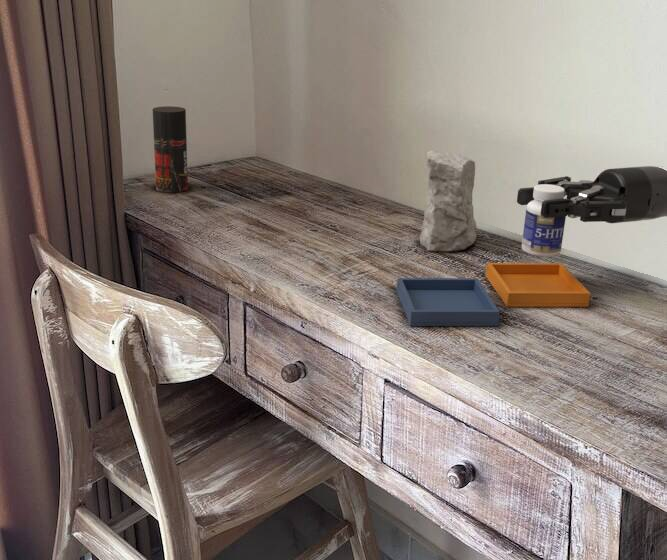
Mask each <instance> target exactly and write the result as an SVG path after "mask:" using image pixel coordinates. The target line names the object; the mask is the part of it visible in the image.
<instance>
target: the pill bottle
mask: <svg viewBox="0 0 667 560" xmlns="http://www.w3.org/2000/svg"><path fill="white" fill-rule="evenodd" d="M533 187H534V191H533V198H534V200H533V201H531V202H529V203H528V205H526V209H525V215H524V222H523V223H524V225H523V232H522V239H521V249H522V250H523V251H524V252H525V253H527V254H529V255H533V256H538V257H555V256H557V255H559V254H560V253H561V251H562V245H563V239H564V232H565V224H566V220H567V219H566V218H567V216H562V217H551V218H545V217H543V216H541V207H542V202H543V201H545V200H554V199H563V198H564V199H565V197H564V191H565V190H564V188H562V187H560V186H556V185H549V184H540V185H538V184H536V185H534V186H533Z"/></svg>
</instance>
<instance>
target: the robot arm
mask: <svg viewBox="0 0 667 560" xmlns="http://www.w3.org/2000/svg"><path fill="white" fill-rule="evenodd" d="M659 167H660V166H653V165H644V166H630V167H629V166H628V167H618V168H617V167H616V168H607V169H605V170H603V171H601V172H600V173H599V174H598V175H597V177H596V178H595V179H594V180H593V181H592V180H590V179H589V180H586V179H584V180H583V179H580V180H579V181H572V177H570V176H569V175H568V176H567V175H565V176H560V177H554V178H548V179H542V180H538V181H537V185H540V184H549V185H556V186H560V187H562V188H564V190H565V191H564V198H563V199H554V200H545V201H543V202H542V207H541V216H543V217H545V218H551V217H562V216H566V217H568V218H570V219H577V218H579V221H581V222H583V223H593V222H594V223H595V222H596V223H597V222H605V223H607V224H620V223H631V222H641V221H650V220H655V219H660V218H665V217H667V171H666V170H664V169H662V168H659ZM534 187H535V186H533V187H521V188H519V189H518V190H517V195H516V196H517V197H516V203H517V204H519V205H520V206H527V205H528V203H529V202H531V201H533V200H534V198H533V191H534ZM565 197H566V198H565Z"/></svg>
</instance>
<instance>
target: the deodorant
mask: <svg viewBox="0 0 667 560" xmlns="http://www.w3.org/2000/svg"><path fill="white" fill-rule="evenodd" d="M152 127H153V129H152V130H153V148H154V149H153V150H154V152H153V153H154V170H155V171H154V172H155V173H154V174H155V189H156V190H157V191H158V192H161V193H167V194H168V193H170V194H175V193H182V192H185V191H187V190H188V189H189V181H188V179H189V178H188V145H187V141H188V139H187V109H186V108H185V107H181V106H174V105H173V106H172V105H171V106H168V105H167V106H166V105H165V106H157V107H153V108H152Z"/></svg>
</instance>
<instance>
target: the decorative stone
mask: <svg viewBox="0 0 667 560" xmlns="http://www.w3.org/2000/svg"><path fill="white" fill-rule="evenodd" d="M426 167H427V169H428V186H427V187H428V188H427V196H426V200H425V205H424V211H423V215H424V217H423V221H422V227H421V232H420V235H419V242H420V245H421V246H422V247H424V248H425V249H426V251H427V252H433V253H434V252H440V253H441V252H447V253H448V252H460V251H465V250H466V249H467V248H469V247H471V246H472V245H473V244H474V243H475V242H476V239H477V232H476V229H477V222H476V219H475V217H474V205H473V191H474V186H475V175H476V161H474V160H472V158H470V157H467V156H463V155H461V154H454V153H446V152H438V151H434V150H433V149H430V150H429V151H427V152H426Z"/></svg>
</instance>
